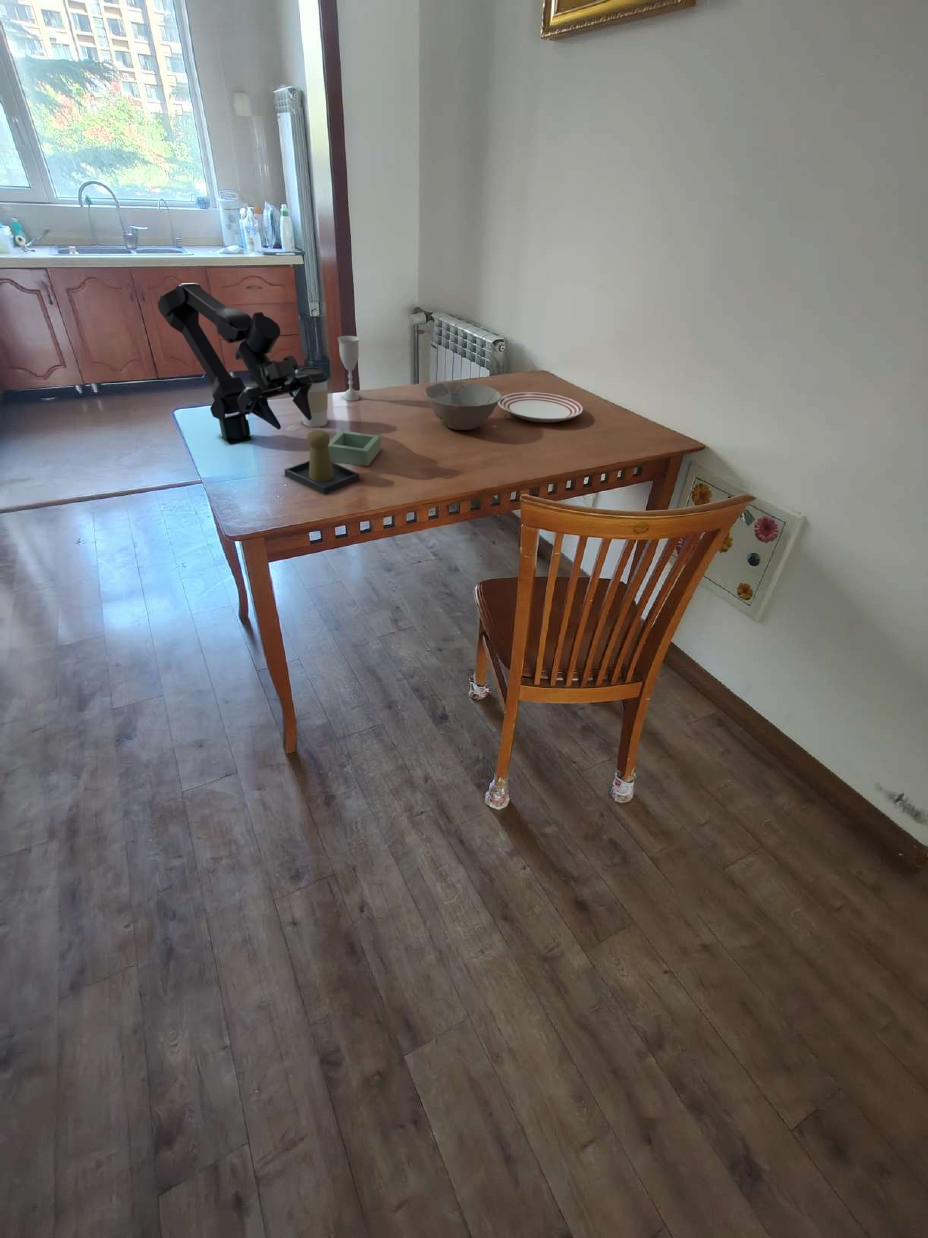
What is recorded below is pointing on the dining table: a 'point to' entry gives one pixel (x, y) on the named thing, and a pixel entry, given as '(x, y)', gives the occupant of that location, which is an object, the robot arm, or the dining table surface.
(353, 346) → the chalice
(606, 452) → the dining table surface
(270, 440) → the dining table surface
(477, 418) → the ceramic bowl
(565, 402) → the dinner plate
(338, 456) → the caddy
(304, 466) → the tray
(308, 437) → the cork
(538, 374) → the dining table surface
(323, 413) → the coffee cup
